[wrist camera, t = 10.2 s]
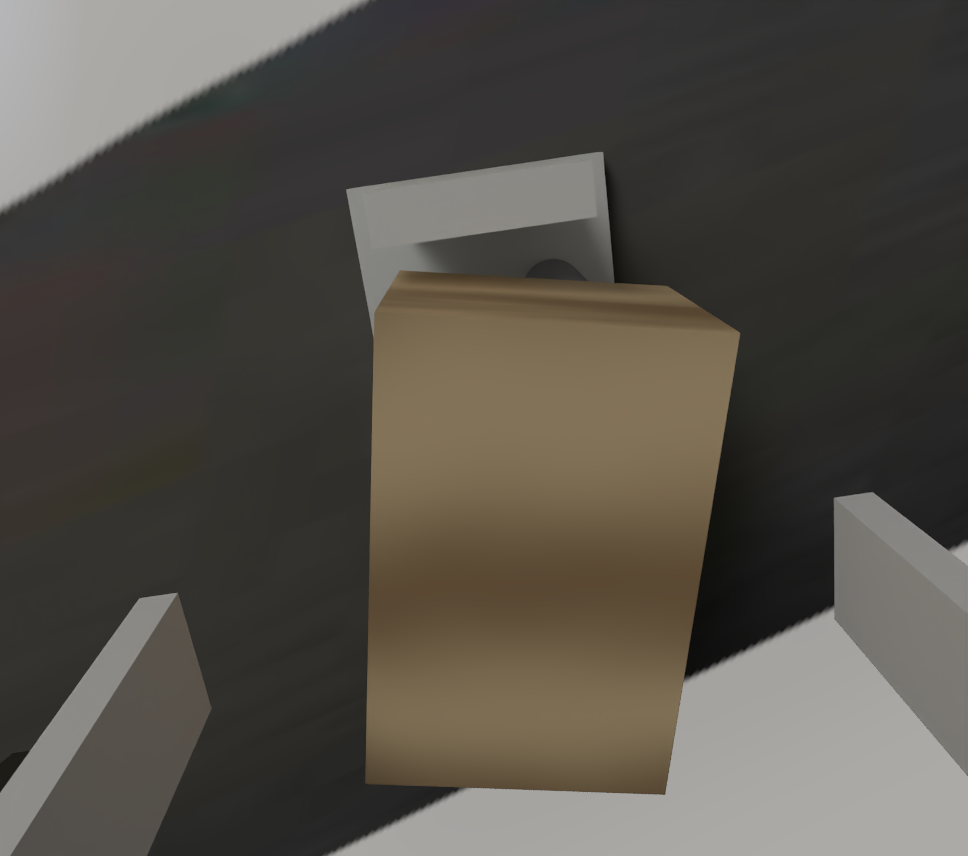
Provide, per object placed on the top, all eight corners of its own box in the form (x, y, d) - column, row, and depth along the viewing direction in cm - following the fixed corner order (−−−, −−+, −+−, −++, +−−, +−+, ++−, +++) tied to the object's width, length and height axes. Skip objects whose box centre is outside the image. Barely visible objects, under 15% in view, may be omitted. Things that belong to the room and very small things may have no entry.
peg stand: (429, 618, 31) (415, 793, 23) (350, 188, 26) (293, 203, 18) (637, 591, 31) (701, 756, 22) (598, 152, 26) (661, 149, 17)
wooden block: (399, 269, 21) (374, 311, 15) (667, 286, 21) (740, 332, 16) (389, 638, 24) (365, 784, 19) (619, 648, 25) (664, 794, 19)
